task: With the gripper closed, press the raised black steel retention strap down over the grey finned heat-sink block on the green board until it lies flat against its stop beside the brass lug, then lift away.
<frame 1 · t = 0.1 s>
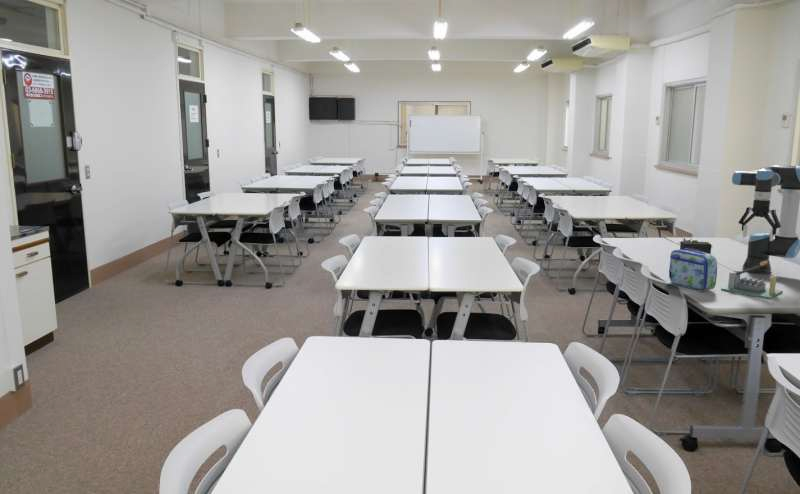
hand: (757, 238, 321), 28 cm above the table, fingers open, 13 cm apart
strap: (751, 267, 321), point 13 cm above the table, hinge at 30.0°
heatsink: (750, 291, 323), resting on board
lunch box: (690, 287, 333), on the table
board: (751, 291, 323), on the table
molecular model: (685, 260, 400), on the table
router: (693, 273, 364), on the table
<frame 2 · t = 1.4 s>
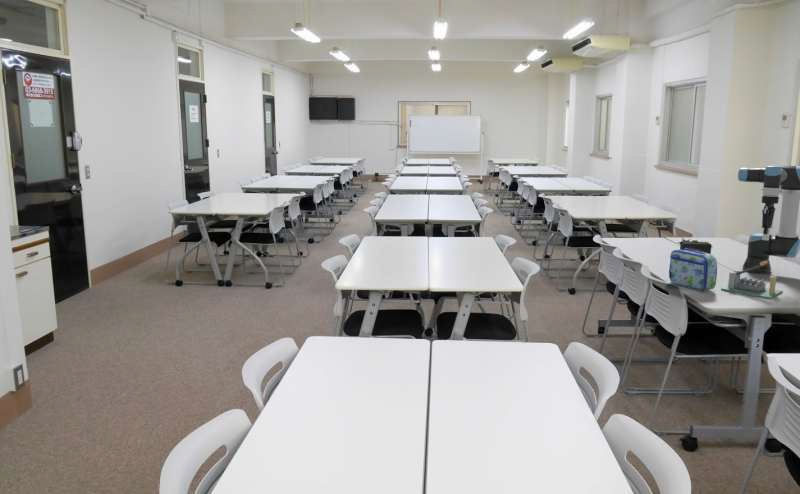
hand: (765, 239, 317), 28 cm above the table, fingers closed
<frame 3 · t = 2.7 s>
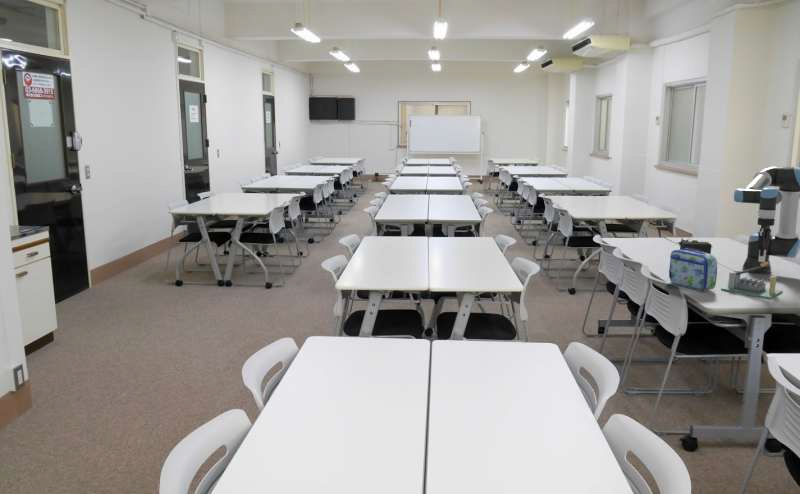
hand: (761, 261, 317), 17 cm above the table, fingers closed
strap: (751, 268, 321), point 13 cm above the table, hinge at 27.7°, touching gripper
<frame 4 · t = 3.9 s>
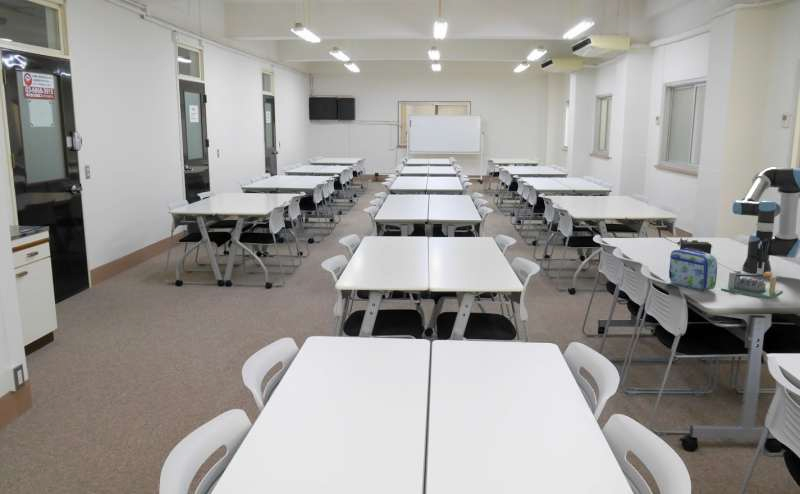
hand: (759, 273, 319), 10 cm above the table, fingers closed
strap: (753, 274, 321), point 10 cm above the table, hinge at 8.0°, touching gripper
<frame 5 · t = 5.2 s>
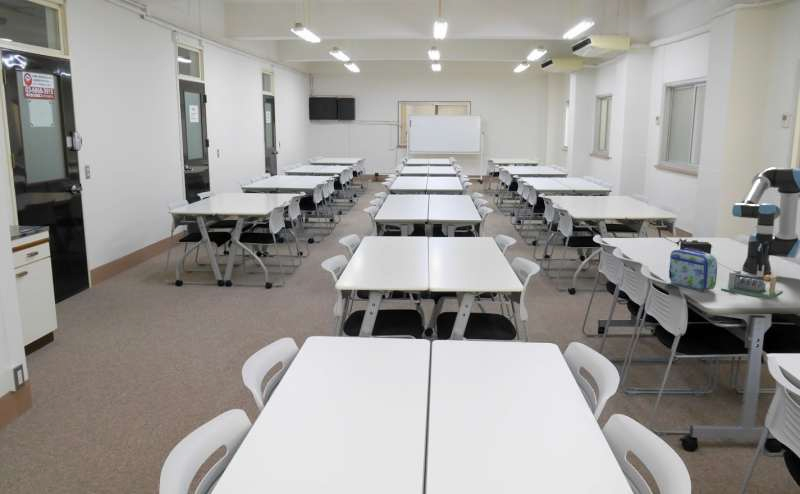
hand: (759, 276, 319), 9 cm above the table, fingers closed
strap: (753, 276, 321), point 9 cm above the table, hinge at 1.7°, touching gripper
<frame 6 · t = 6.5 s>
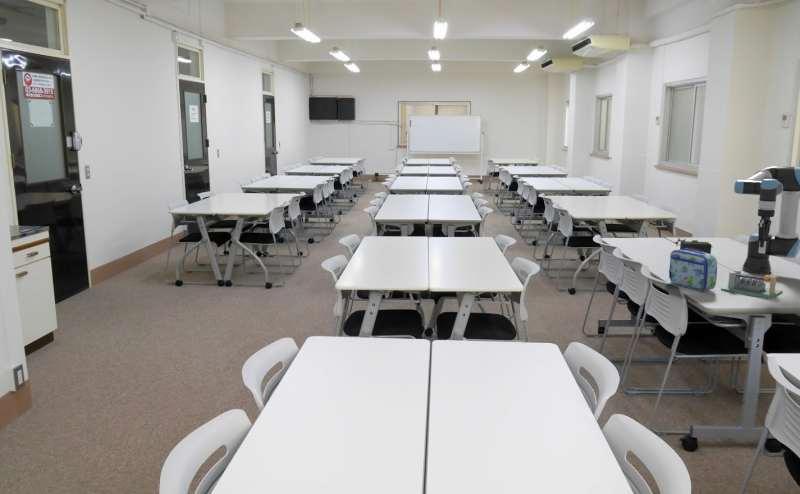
hand: (761, 252, 317), 22 cm above the table, fingers closed
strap: (753, 276, 321), point 9 cm above the table, hinge at 1.7°
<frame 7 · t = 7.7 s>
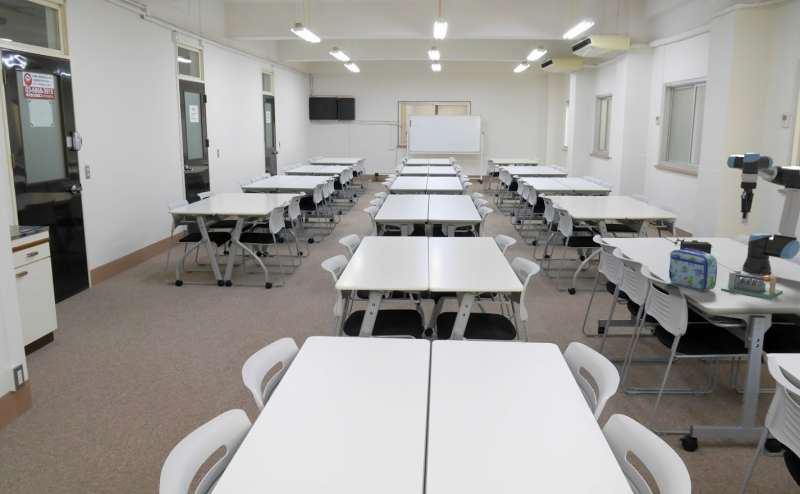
hand: (744, 224, 331), 34 cm above the table, fingers closed
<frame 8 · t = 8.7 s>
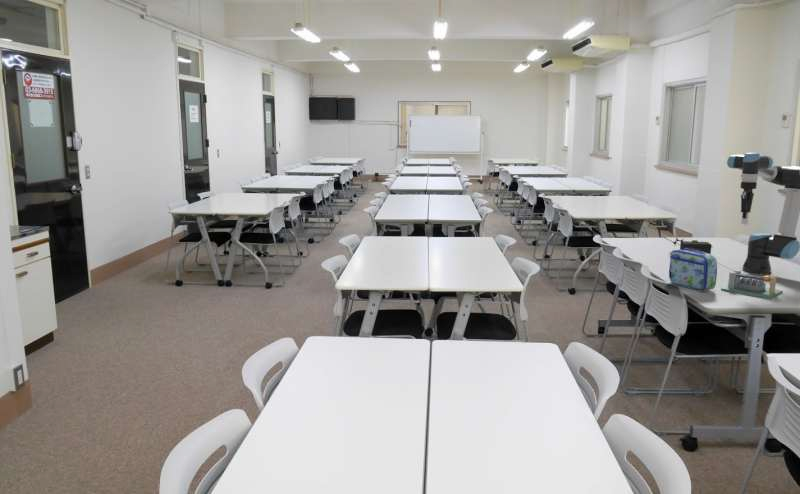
hand: (744, 224, 331), 34 cm above the table, fingers closed
at the end: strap at +2° (first picture: +30°) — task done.
